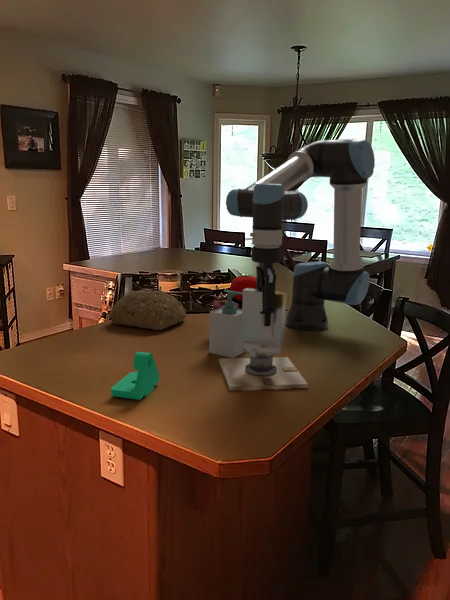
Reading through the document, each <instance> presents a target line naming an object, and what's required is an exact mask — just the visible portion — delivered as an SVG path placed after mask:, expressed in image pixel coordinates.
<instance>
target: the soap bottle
mask: <svg viewBox="0 0 450 600" xmlns="http://www.w3.org/2000/svg"><path fill="white" fill-rule="evenodd" d="M223 292H224V293H226V298H227V300H228V301H226V302H225V306H223V307H222V308H219V309H216V310H213V309H212V310H211V311H209V329H208V331H209V333H208V334H209V335H208V336H209V338H208V353H210V354H213V355H216V356H217V355H218V356H223V357H225V358H237V357H238V356H240V355H242V354H244V353H245V352H244V351H243V341H241V330H242V308H239V309H238V308H237V307H236V306H235V303H236V302H235V301H233V298H234V297H233V295H243V293H242V292H235V291H230V289H229V290H228V289H224V290H223ZM234 302H235V303H234Z"/></svg>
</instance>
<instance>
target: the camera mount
mask: <svg viewBox="0 0 450 600" xmlns="http://www.w3.org/2000/svg"><path fill="white" fill-rule="evenodd" d="M132 363H133V364H132V365H133V369H134V370H135V371H131V372H129V373H128V374H126V375H125V376H124V377H123V378H122V379H120V380H119V381H118V382H117V383H116V384H114V385H113V386H112V387H111V388H110V391H111V393H110V395H111V396H112V397H119V398H125V399H132V400H139V401H140V400H142V398H143V396H147V395H148V394H149V393H150V392H151V391H152V390H153V389H154V390H155V386H156V384H158V383H159V382H160V373H159V370H158V367H157V363H156V360H155V358H154V355H153V353H152V352H142V351H136V353H135V355H134V357H133V361H132ZM154 390H153V391H154ZM153 391H152V392H153ZM152 392H151V393H152ZM151 393H150V394H151ZM150 394H149V395H150ZM149 395H148V396H149ZM148 396H147V397H148Z"/></svg>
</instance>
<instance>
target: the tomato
mask: <svg viewBox="0 0 450 600" xmlns="http://www.w3.org/2000/svg"><path fill="white" fill-rule="evenodd" d="M256 278H257V277H256V276H252V275H251V274H249V275H247V274H241V275H238V276H236V277H235V278H234V279H232V281H231V283H230V286H229V291H235V292H242V293H243V290H244V289H246V288H252V289H256ZM233 298H234V299H236V300H237V301H239V302H241V301H242V302H243V295H233Z"/></svg>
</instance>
